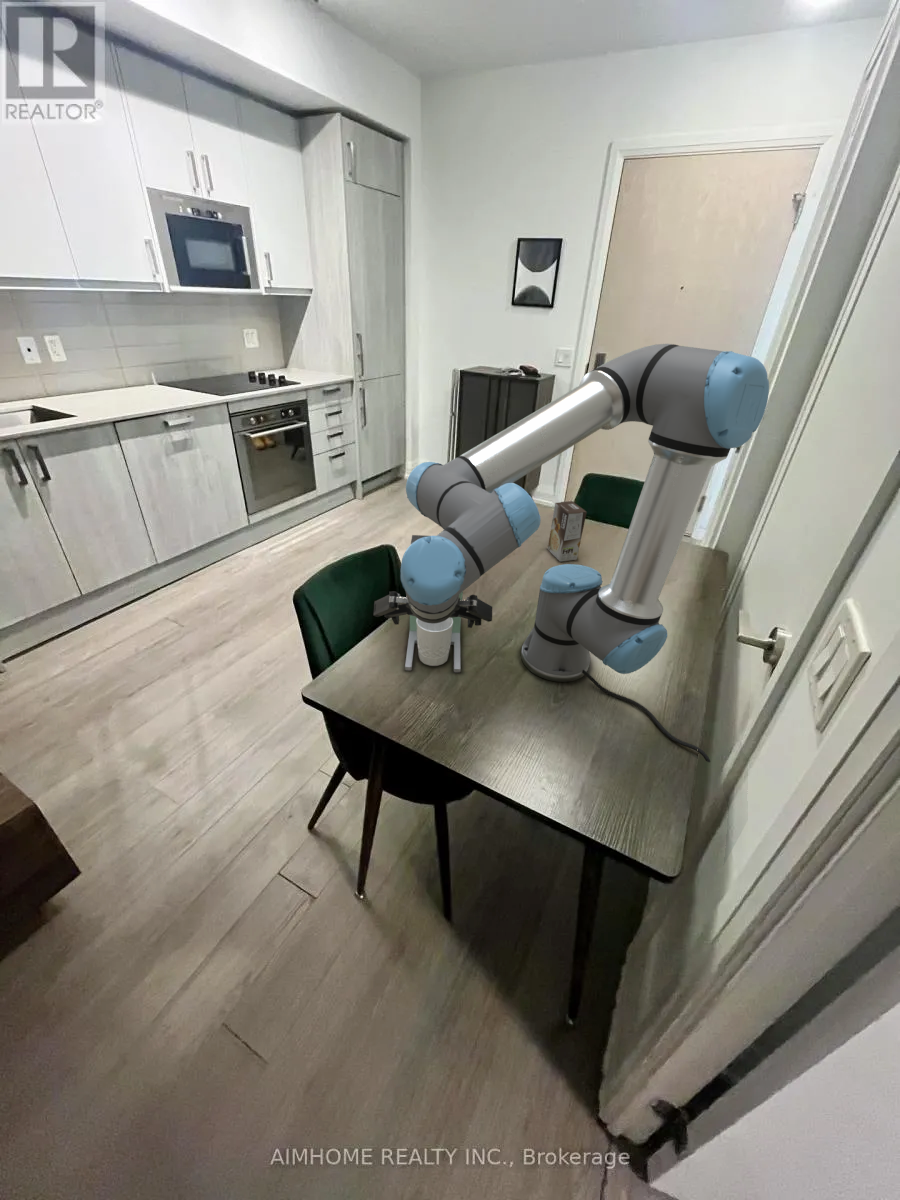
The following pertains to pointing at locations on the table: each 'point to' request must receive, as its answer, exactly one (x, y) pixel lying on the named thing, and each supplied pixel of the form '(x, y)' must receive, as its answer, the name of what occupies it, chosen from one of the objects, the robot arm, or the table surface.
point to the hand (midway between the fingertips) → (433, 618)
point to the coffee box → (566, 530)
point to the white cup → (434, 641)
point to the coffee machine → (413, 633)
